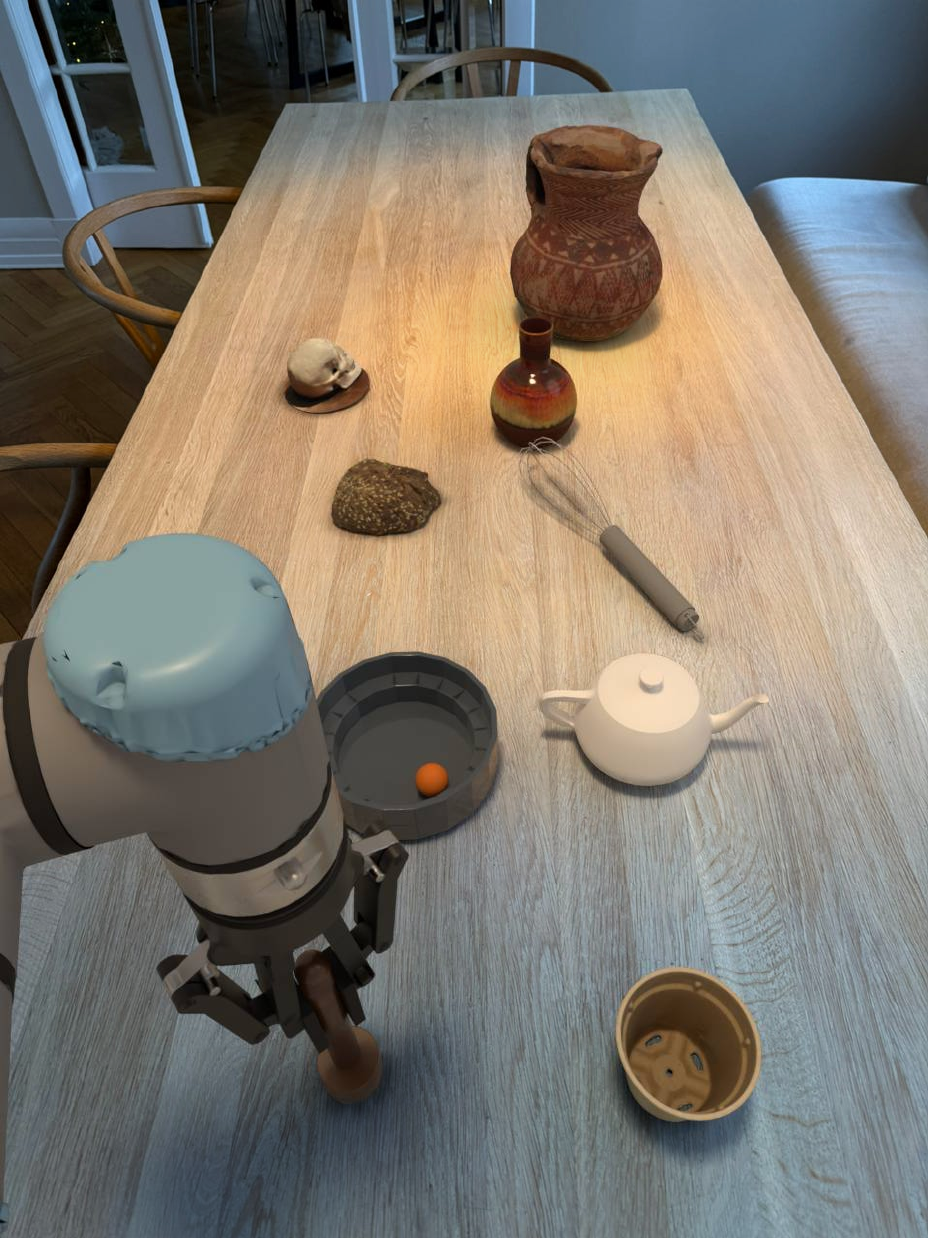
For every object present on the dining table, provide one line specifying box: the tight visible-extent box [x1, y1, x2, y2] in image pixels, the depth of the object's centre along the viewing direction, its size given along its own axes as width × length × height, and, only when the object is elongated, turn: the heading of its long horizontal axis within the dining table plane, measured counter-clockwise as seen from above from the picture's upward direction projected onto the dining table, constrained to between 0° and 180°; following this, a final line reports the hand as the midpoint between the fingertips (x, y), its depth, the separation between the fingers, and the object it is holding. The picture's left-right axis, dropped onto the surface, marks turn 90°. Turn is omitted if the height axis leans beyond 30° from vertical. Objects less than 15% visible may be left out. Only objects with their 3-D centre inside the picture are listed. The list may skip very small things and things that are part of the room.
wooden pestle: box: [293, 949, 384, 1104], centre depth 56 cm, size 4×4×21 cm
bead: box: [415, 763, 449, 797], centre depth 79 cm, size 3×3×3 cm
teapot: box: [539, 652, 770, 787], centre depth 80 cm, size 20×12×10 cm, turn 85°
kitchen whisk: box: [518, 437, 705, 640], centre depth 99 cm, size 6×34×6 cm, turn 29°
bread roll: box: [330, 457, 442, 536], centre depth 106 cm, size 13×12×5 cm
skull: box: [283, 337, 370, 414], centre depth 123 cm, size 12×10×10 cm
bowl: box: [316, 650, 499, 841], centre depth 81 cm, size 17×17×6 cm
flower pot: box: [615, 966, 763, 1123], centre depth 61 cm, size 9×9×9 cm
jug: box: [509, 124, 664, 342], centre depth 125 cm, size 22×21×25 cm
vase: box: [489, 316, 578, 450], centre depth 111 cm, size 11×11×15 cm
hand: (331, 1018), depth 56 cm, fingers closed on wooden pestle, 2 cm apart
